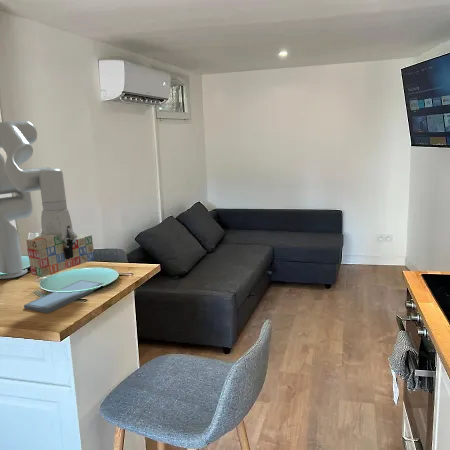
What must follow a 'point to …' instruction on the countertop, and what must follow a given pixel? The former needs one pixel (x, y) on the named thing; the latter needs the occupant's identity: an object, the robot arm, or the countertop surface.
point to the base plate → (61, 297)
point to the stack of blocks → (57, 253)
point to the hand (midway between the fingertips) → (61, 257)
